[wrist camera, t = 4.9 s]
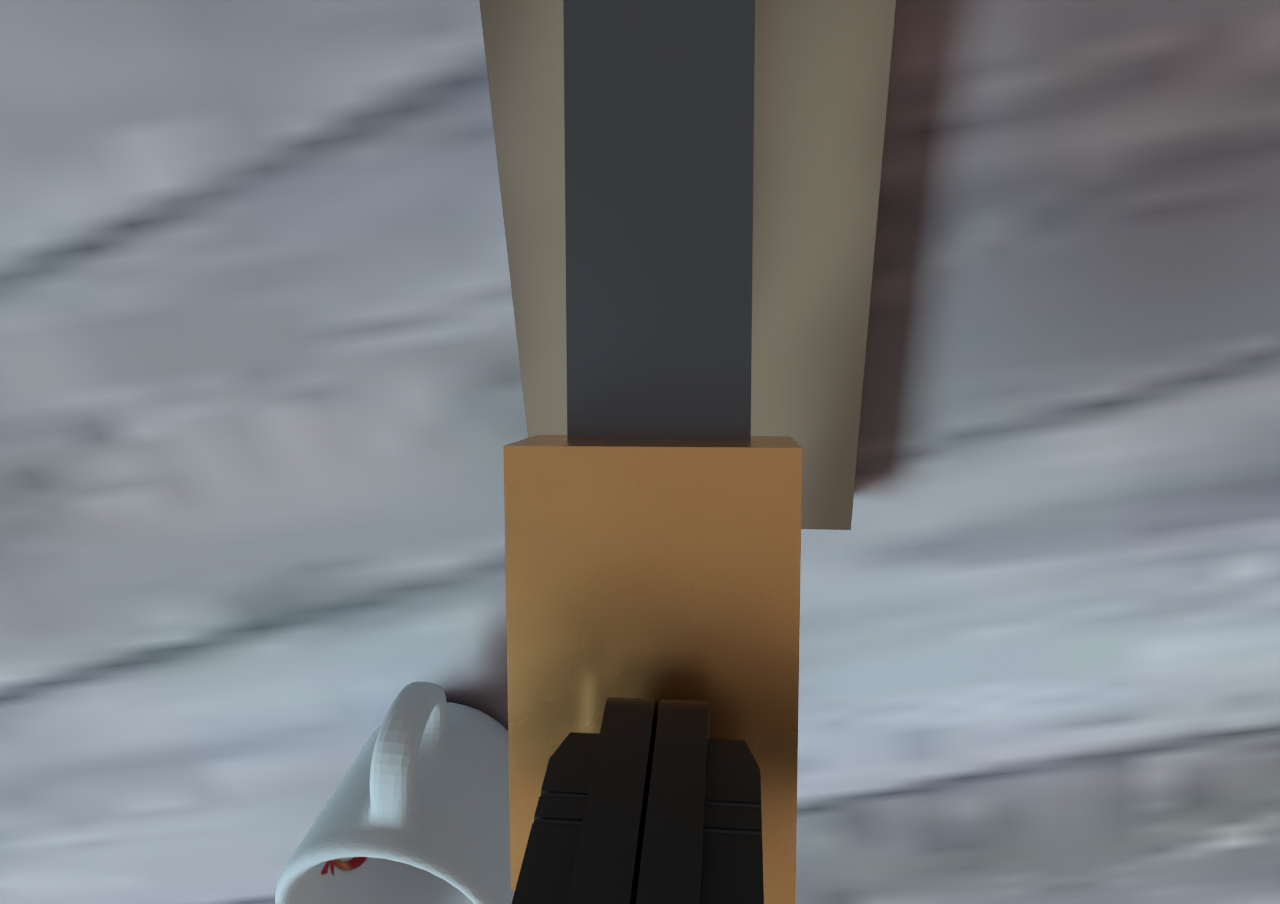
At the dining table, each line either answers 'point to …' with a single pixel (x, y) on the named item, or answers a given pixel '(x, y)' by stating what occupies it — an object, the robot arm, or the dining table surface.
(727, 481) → the press lever
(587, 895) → the robot arm
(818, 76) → the press base
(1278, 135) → the dining table surface
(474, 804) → the cup
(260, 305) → the dining table surface
